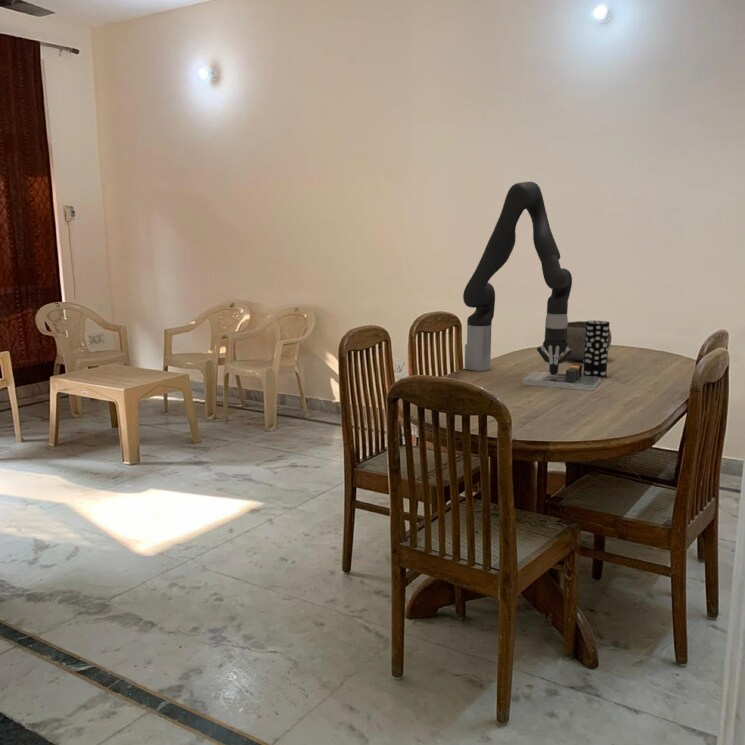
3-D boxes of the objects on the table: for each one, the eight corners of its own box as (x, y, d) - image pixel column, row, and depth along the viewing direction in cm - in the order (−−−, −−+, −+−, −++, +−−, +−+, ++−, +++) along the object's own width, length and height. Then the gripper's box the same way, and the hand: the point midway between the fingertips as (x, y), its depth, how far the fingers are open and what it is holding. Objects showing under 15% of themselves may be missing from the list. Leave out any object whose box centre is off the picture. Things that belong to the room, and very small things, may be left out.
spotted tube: (607, 378, 279) (610, 324, 275) (583, 377, 281) (586, 323, 277) (605, 373, 287) (608, 320, 283) (582, 373, 289) (585, 320, 285)
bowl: (550, 361, 311) (551, 324, 308) (566, 353, 329) (568, 318, 325) (601, 366, 301) (604, 328, 297) (615, 357, 318) (618, 322, 315)
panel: (523, 384, 271) (523, 367, 269) (533, 376, 283) (534, 360, 282) (592, 390, 260) (593, 373, 259) (600, 382, 273) (601, 365, 271)
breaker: (568, 378, 269) (569, 366, 268) (570, 376, 271) (571, 365, 270) (577, 378, 267) (577, 367, 267) (579, 377, 270) (579, 366, 269)
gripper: (534, 326, 268) (532, 374, 272) (573, 328, 263) (570, 378, 267) (540, 323, 275) (537, 370, 279) (577, 325, 269) (574, 374, 273)
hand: (553, 374), depth 273 cm, fingers closed
